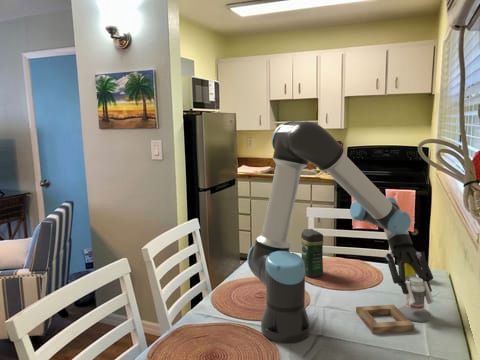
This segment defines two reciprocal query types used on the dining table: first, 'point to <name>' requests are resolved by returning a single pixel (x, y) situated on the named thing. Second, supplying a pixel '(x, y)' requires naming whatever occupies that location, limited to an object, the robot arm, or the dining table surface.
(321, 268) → the coffee jar
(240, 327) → the dining table surface
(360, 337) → the dining table surface
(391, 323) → the pocket
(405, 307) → the coaster
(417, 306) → the pill bottle
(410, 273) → the supplement bottle
